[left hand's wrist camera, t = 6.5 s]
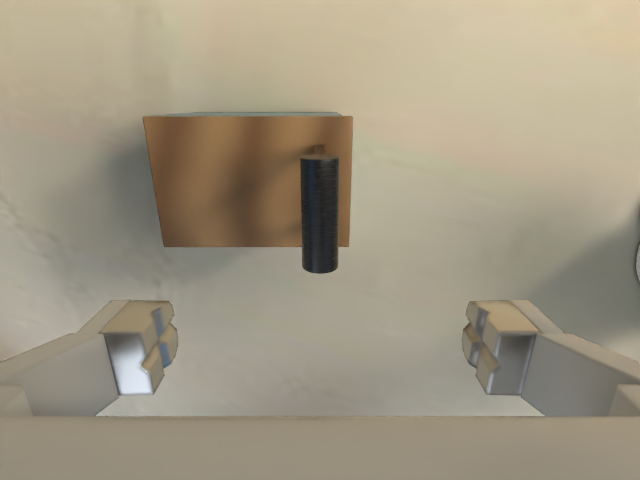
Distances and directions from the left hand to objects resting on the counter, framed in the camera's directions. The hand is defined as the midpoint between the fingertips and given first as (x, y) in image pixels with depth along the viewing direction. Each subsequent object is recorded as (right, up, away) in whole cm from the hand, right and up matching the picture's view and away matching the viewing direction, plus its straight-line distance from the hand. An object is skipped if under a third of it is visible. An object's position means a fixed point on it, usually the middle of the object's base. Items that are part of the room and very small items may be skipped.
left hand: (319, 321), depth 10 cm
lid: (-5, +6, +17) cm, 19 cm away
